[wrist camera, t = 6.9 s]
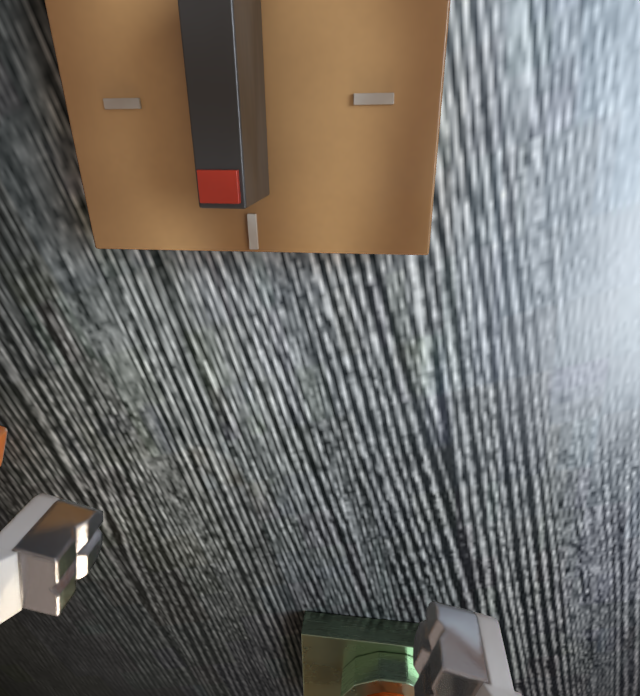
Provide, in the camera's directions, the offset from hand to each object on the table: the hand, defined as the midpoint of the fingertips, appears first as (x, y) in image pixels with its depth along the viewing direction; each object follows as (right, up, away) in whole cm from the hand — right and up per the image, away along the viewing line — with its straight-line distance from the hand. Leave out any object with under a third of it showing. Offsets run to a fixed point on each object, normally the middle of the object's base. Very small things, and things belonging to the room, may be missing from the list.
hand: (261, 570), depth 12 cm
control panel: (-1, +16, +8) cm, 18 cm away
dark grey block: (-1, +14, +6) cm, 15 cm away
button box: (+6, -17, +22) cm, 28 cm away
